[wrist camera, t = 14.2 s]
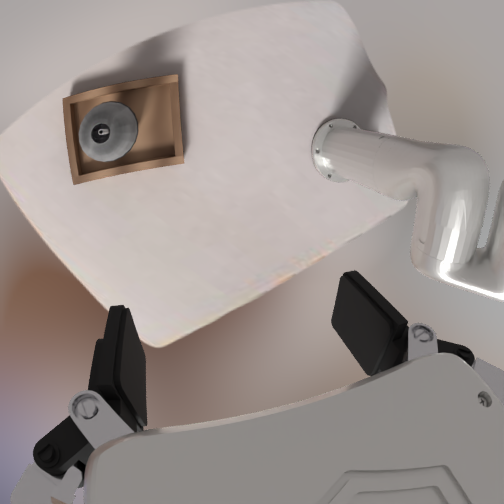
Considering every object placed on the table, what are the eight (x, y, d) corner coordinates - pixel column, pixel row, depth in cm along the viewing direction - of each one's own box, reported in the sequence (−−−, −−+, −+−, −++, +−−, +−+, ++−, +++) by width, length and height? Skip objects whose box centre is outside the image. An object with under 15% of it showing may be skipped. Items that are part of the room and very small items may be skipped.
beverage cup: (97, 113, 34) (46, 113, 17) (142, 99, 35) (120, 84, 18) (107, 156, 37) (63, 187, 20) (150, 143, 39) (135, 163, 22)
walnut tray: (177, 77, 36) (177, 74, 33) (182, 160, 42) (184, 163, 40) (68, 99, 31) (62, 98, 29) (78, 180, 38) (73, 185, 35)
